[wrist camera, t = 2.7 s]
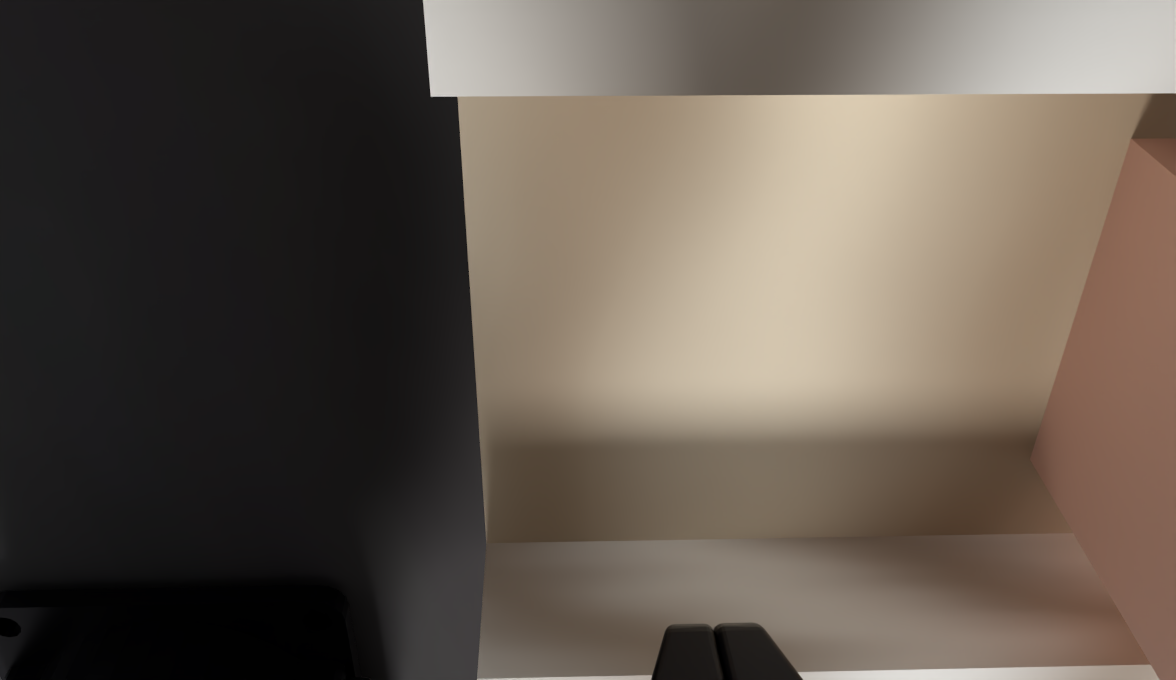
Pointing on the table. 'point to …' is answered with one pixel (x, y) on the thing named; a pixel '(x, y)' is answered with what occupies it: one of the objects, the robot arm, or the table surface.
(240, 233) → the table surface
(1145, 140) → the block
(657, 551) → the lane board
